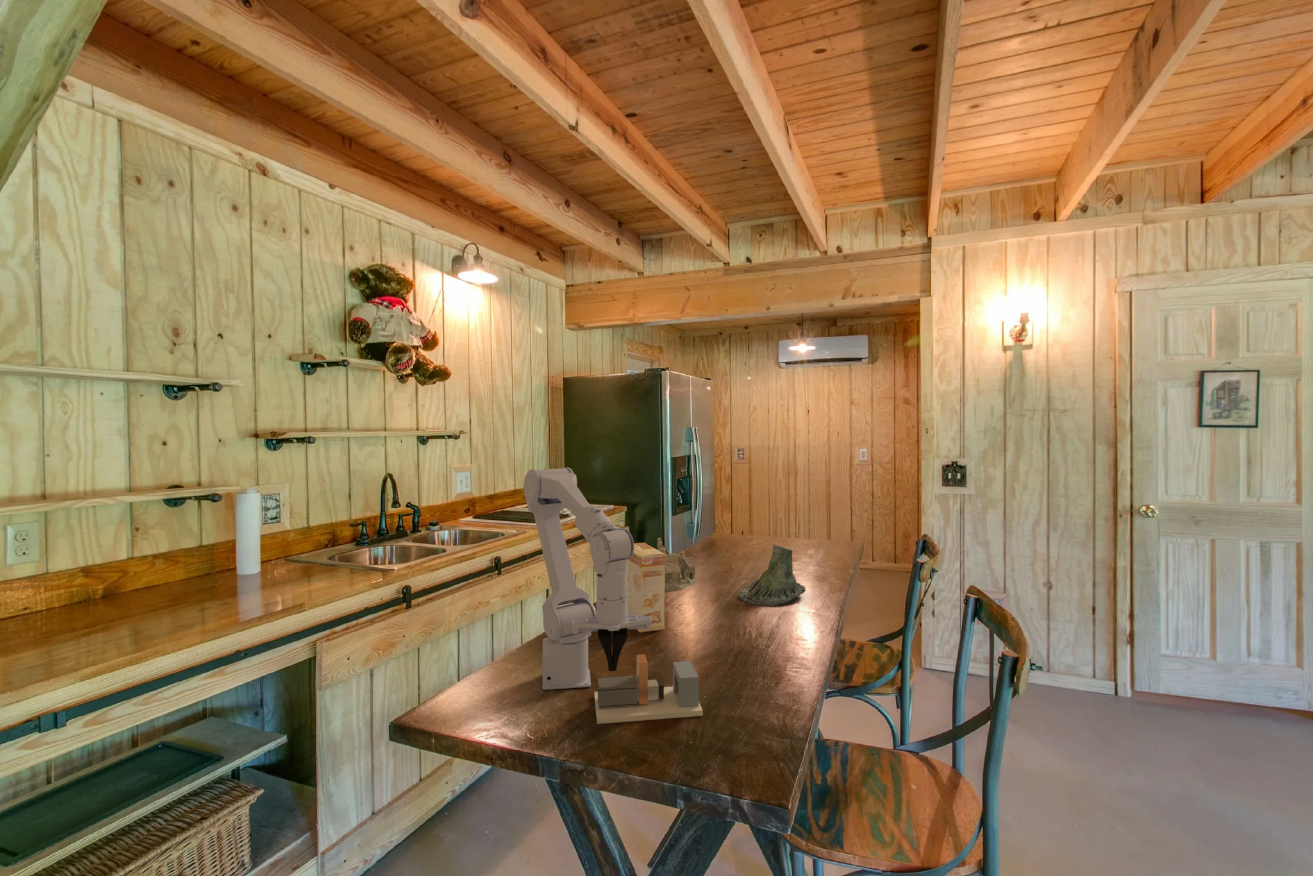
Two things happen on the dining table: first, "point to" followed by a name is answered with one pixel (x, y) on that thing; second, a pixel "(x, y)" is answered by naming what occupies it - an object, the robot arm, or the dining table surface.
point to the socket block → (686, 684)
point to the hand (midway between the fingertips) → (612, 669)
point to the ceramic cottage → (677, 569)
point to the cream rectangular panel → (635, 703)
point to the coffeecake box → (647, 584)
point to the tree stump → (774, 582)
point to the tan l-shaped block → (647, 683)
